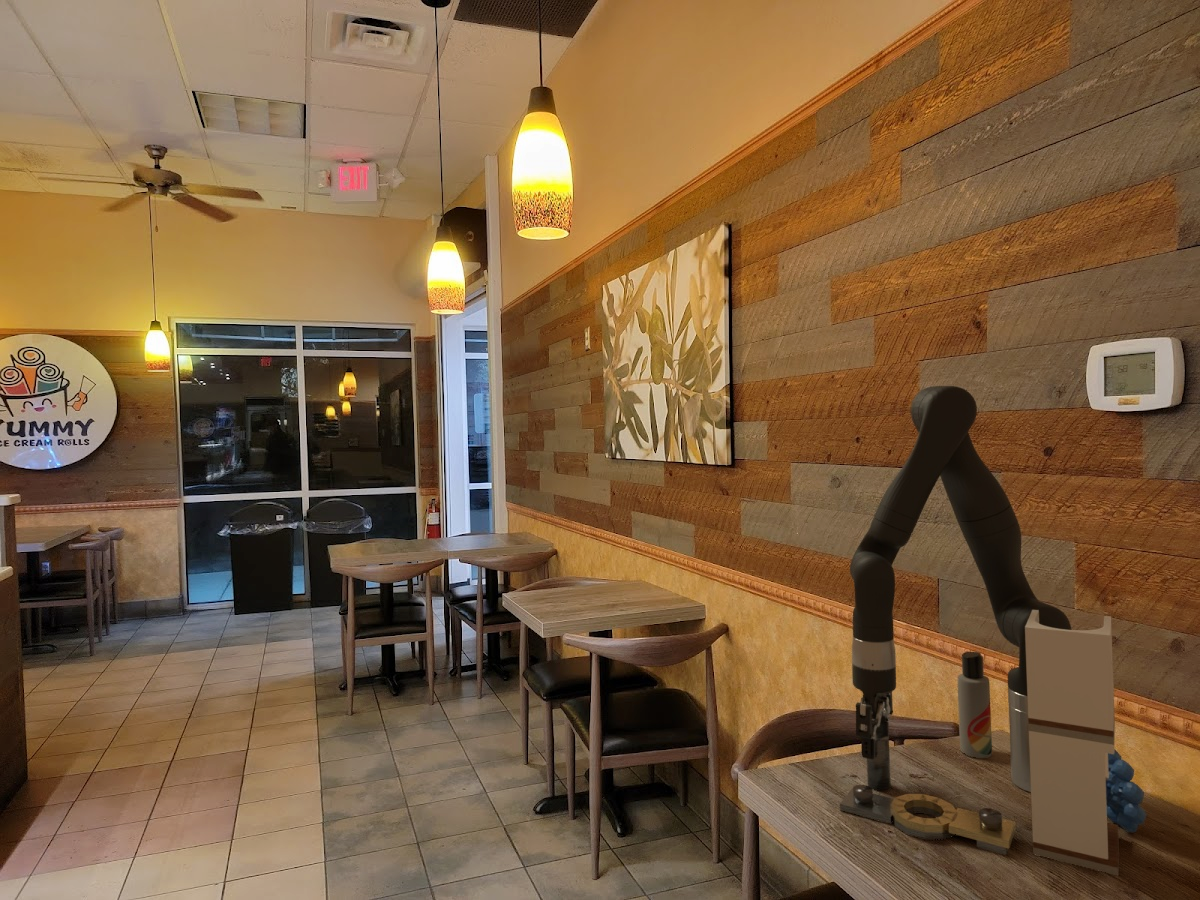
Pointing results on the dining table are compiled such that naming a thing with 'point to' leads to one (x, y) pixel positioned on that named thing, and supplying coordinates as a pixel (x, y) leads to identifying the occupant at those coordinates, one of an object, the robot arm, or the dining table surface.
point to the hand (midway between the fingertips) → (875, 749)
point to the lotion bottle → (974, 707)
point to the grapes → (1123, 795)
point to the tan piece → (949, 821)
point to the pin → (879, 765)
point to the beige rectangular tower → (1071, 743)
